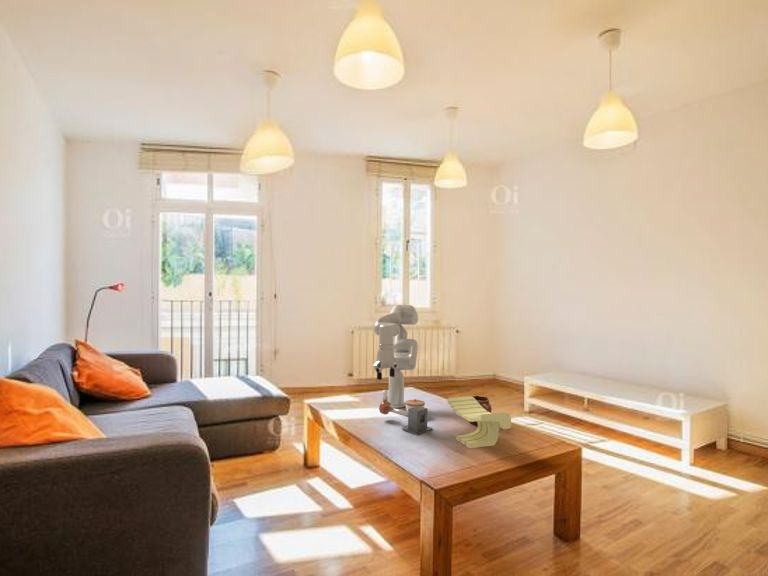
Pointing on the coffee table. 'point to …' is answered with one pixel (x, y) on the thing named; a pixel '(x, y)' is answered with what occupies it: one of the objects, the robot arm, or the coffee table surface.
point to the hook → (389, 406)
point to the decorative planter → (484, 403)
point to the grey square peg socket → (417, 421)
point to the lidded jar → (414, 404)
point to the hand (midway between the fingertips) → (385, 378)
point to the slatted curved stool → (479, 422)
